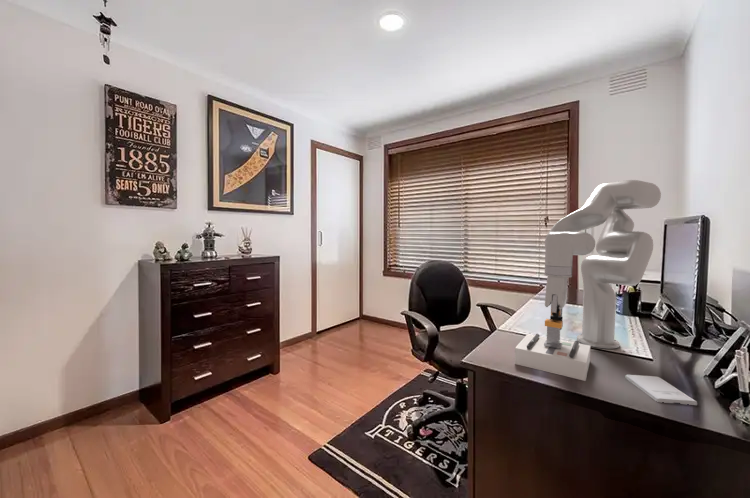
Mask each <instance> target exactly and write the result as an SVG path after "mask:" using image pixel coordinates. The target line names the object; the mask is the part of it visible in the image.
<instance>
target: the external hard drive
mask: <svg viewBox="0 0 750 498" xmlns="http://www.w3.org/2000/svg"><path fill="white" fill-rule="evenodd" d="M624 377H625V379H626V380H628V382H629V383H632V384H633V385H634V386H636V388H638V389H639V390H641V391H642V392H643V393H645V394H646V395H647V396H648V397H649V398H651V399H652V400H654V401H655V402H656V401H657V402H656V403H662V402H664V404H665V403H666V404H679V403H680V405H687V404H689V406H691V405H692V406H698V401H697V400H695V399H693V398H692V397H690V396H689V395H688V394H685V393H684V392H683V391H681V390H679V388H676V387H675V386H674V385H672V384H671V383H669V382H667V381H666V380H664V379H663V378H661V377H660V376H656V375H655V376H654V375H639V374H626V375H625V376H624Z"/></svg>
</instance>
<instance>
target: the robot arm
mask: <svg viewBox="0 0 750 498" xmlns="http://www.w3.org/2000/svg"><path fill="white" fill-rule="evenodd" d="M661 195H662V192H661V190H660V188H659V187H658V185H657V184H655V183H652V182H648V181H642V180H638V179H628V180H618V181H610V182H605V183H601V184H599V185H597V186H596V187H595V188H594V190H593V191H592V192H591V193H590V195H589V197H587V199H586V200H585V201H584V203H583V205H582V206H581V207H580V208H578V209H577V210H575V211H573V212H571V213H569V214H568V215H566V216H565V217H562V218H561V219H559V220H558V221H557V222H555V223H554V224H553V226H552V227H551V228H550V230H549V231H548V232H547V234H546V236H545V239H544V247H545V249H544V250H545V252H544V276H545V277H546V278H547V279H546V285H545V297H544V307H545V308H549V306H550V316H549V317H550V318H549V319H552V320H558V321H563V308H564V307H565V306H566V304H567V298H568V297H567V296H568V279H569V278H572V277H573V259H574V258H573V257H574V256H586V255H588V256H587V257H585V258H583V260H582V261H581V264H580V273H581V277H582V284H583V286H582V288H583V297H582V319H581V321H582V323H581V327H582V328H581V334H578V335H576V341H578V342H579V344H584V345H590V347H593V348H597V349H605V350H606V349H607V350H612V349H613V350H615V349H618V348H620V346H621V345H620V344H621V343H620V341H618V340H616V338H615V329H616V305H617V295H616V292H615V290H614V289H613V287H612V286H611V285H612V284H613V285H619V286H620V285H621V286H629V287H632V286H636V285H638V284H639V283H640V282H641V281H642V279H643V277H644V274H645V272H646V270H647V268H648V264H649V262H650V260H651V257H652V254H653V250H654V239H653V238H652V235H650V234H649V233H647V232H644V231H639V230H638V231H636V230H635V231H634V228H635V222H634V220H633V219H632V217H630V216H629V215H628V214H627V213H626V212H625V210H640V209H651V208H655V207H656V206H658V204H659V202H660V201H661V197H662V196H661ZM604 223H605V224H604ZM603 224H604V227H603V228H602V231H601V233H600V235H599V237H598V240H597V242H596V240H595V237H594V236H593V235H592V234H590V233H588V232H585V230H589V229H592V228H595V227H598V226H601V225H603ZM594 249H595V250H596V252H597V254H596V255H595V254H594V255H589V254H590V253H592V252H593V251H594ZM562 329H563V327H562V328H561V329H560V331H561V330H562Z"/></svg>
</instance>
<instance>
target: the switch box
mask: <svg viewBox="0 0 750 498" xmlns="http://www.w3.org/2000/svg"><path fill="white" fill-rule="evenodd" d="M546 340H547V336H540V334H539V333H536V334H535V335H533V334H528V333H527V334H526V335H525V336H524V337H523V338H522V340H521V341H520V342H519V343H518V344H517V345H516V346H515V347H514V349H515V350H514V365H518V366H522V367H525V368H526V367H527V368H530V369H535V370H538V371H543V372H547V373H551V374H555V375H558V376H559V375H560V376H563V377H568V378H571V379H576V380H580V381H584V382H586V381H587V375H588V372H589V367H590V361H591V346H590V345H585V344H583V343H580V342H579V341H578V340H575V341H574V342H573V341H567V340H562V339H560V343H562V347H561V349H557V348H552V347H547V346H544V343H545V341H546Z"/></svg>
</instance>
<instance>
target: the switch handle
mask: <svg viewBox="0 0 750 498" xmlns="http://www.w3.org/2000/svg"><path fill="white" fill-rule="evenodd" d="M563 325H564V321H563V320H562V321H558V320H552V319H550V318H546V319H545V320H544V327H546V338H547V340H546V341H545V343H544V346H547V347H552V348H557V349H561V347H562V343H560V340H561V330H562V329H563V327H564V326H563ZM561 328H562V329H561ZM560 329H561V330H560Z"/></svg>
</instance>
